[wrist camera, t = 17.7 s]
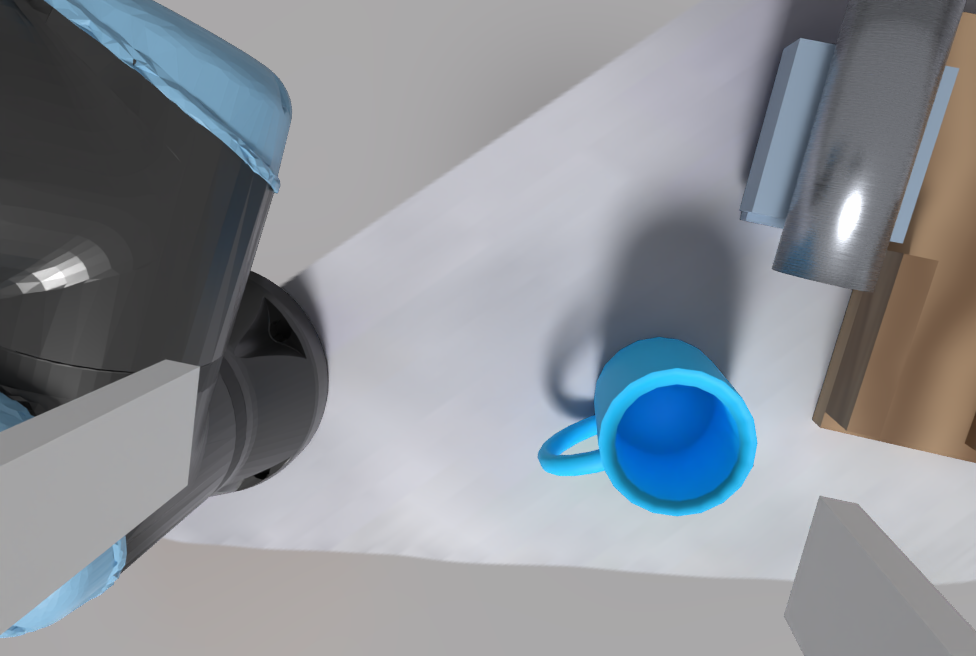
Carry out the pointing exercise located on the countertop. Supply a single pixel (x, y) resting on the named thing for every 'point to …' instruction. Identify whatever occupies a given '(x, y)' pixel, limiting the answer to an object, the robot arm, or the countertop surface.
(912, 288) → the wooden channel tray
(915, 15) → the axle
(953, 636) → the robot arm
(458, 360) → the countertop surface
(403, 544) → the countertop surface
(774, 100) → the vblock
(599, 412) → the mug
